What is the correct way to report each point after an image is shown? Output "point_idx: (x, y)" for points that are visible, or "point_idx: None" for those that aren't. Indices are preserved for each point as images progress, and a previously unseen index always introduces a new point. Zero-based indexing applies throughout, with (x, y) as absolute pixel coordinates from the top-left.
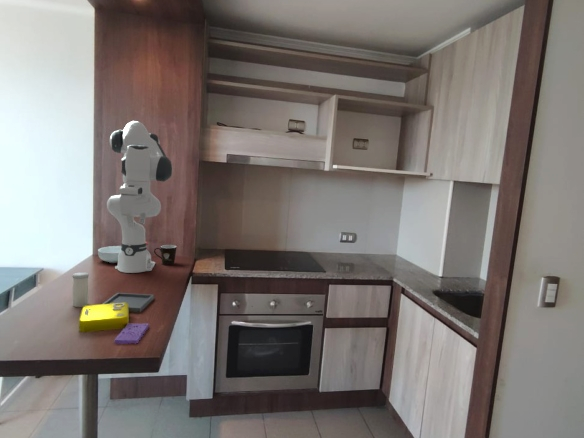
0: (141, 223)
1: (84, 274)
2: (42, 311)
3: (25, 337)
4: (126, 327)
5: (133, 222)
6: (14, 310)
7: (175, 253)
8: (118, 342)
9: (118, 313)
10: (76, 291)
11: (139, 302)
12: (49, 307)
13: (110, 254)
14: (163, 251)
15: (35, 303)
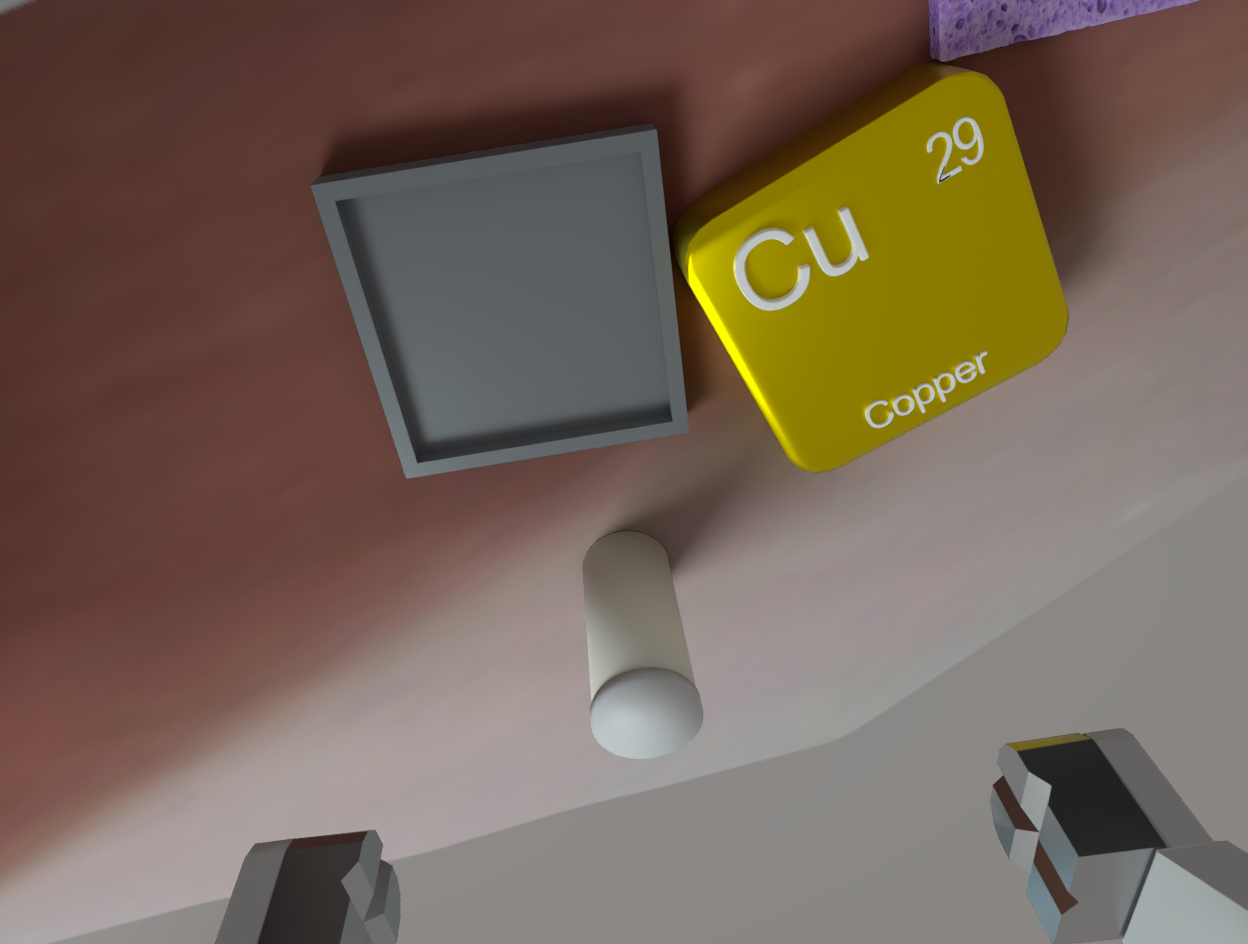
0: (376, 873)
1: (638, 702)
2: (770, 653)
3: (1089, 509)
4: (1011, 32)
5: (1200, 850)
6: (782, 748)
7: None
8: None
9: (926, 175)
10: (683, 630)
11: (488, 229)
12: (710, 662)
13: None
14: None
15: None
